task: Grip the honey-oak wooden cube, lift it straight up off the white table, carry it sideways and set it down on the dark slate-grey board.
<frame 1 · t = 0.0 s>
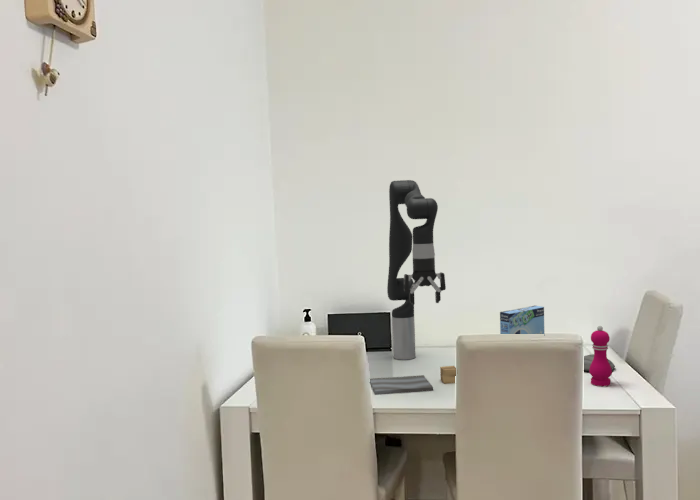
hand: (425, 303, 226), 29 cm above the table, fingers open, 8 cm apart
slate board: (400, 386, 230), on the table
gum box: (523, 369, 247), on the table
pepper mill: (600, 384, 224), on the table
oak cube: (449, 381, 234), on the table
grey round bowl: (593, 369, 244), on the table
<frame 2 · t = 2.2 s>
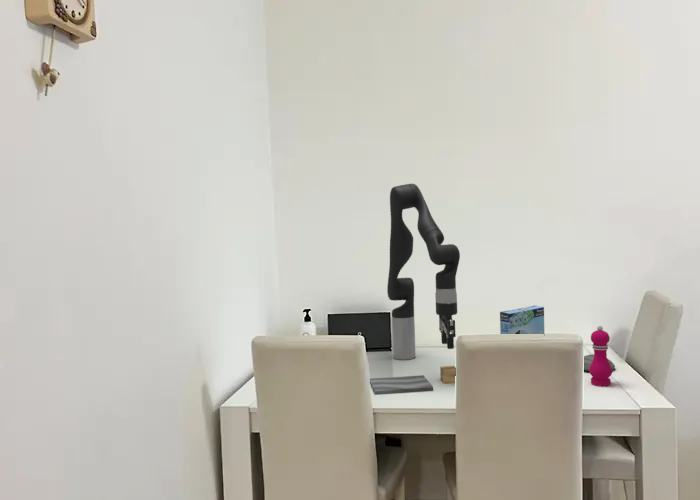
hand: (447, 346, 233), 13 cm above the table, fingers open, 8 cm apart
nothing on the table moved.
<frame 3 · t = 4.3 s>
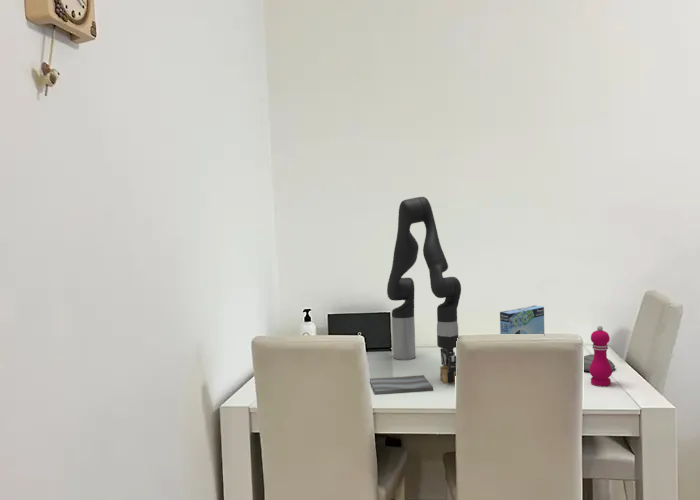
hand: (449, 380, 234), 0 cm above the table, fingers closed on oak cube, 5 cm apart
oak cube: (449, 381, 234), on the table, touching gripper
everything else where it was.
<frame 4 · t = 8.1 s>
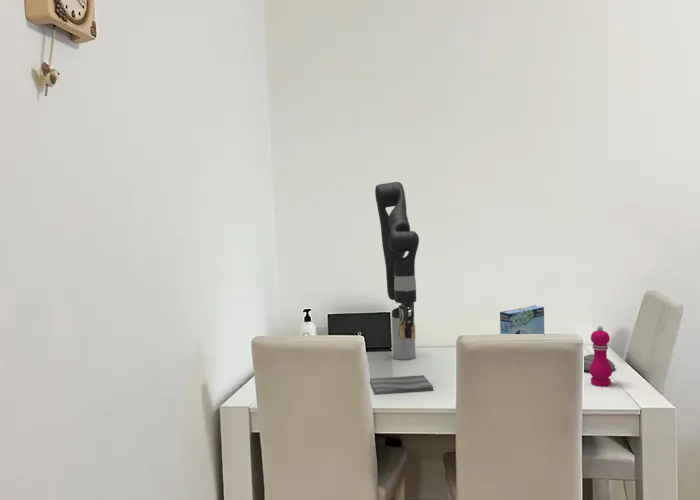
hand: (406, 336, 230), 17 cm above the table, fingers closed on oak cube, 5 cm apart
oak cube: (406, 337, 230), point 17 cm above the table, touching gripper
everything else where it was.
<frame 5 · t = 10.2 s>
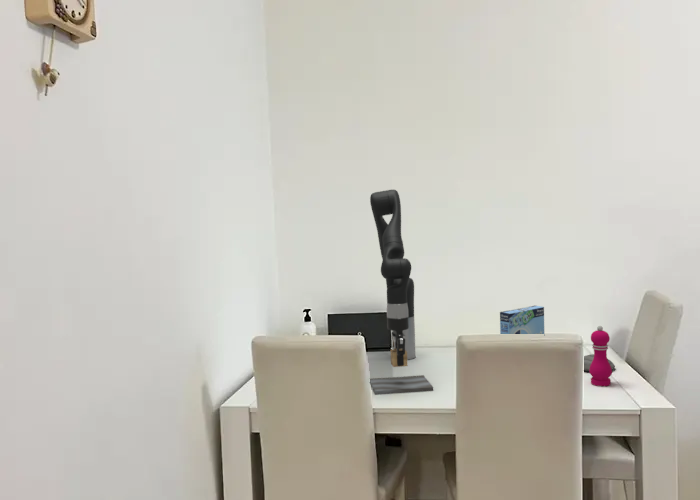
hand: (399, 363, 230), 8 cm above the table, fingers closed on oak cube, 5 cm apart
oak cube: (399, 364, 230), point 8 cm above the table, touching gripper
everything else where it was.
when the fingers open (3 cm above the table, at t = 12.1 s): oak cube stays where it is, resting on slate board.
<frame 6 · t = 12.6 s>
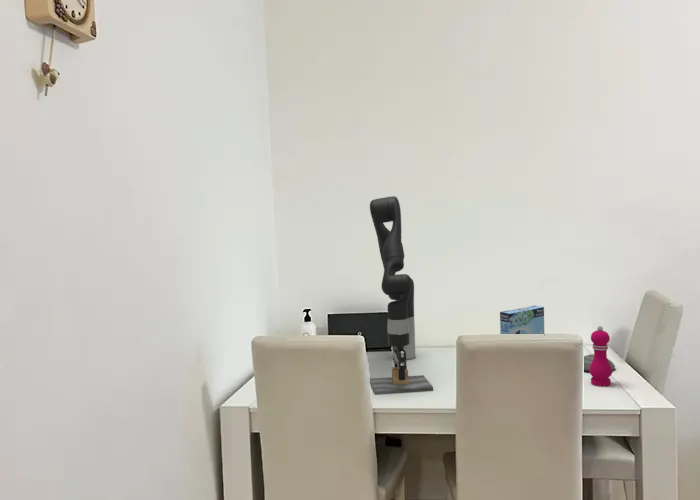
hand: (399, 376, 230), 3 cm above the table, fingers open, 8 cm apart
oak cube: (400, 382, 230), point 1 cm above the table, touching slate board
everything else where it was.
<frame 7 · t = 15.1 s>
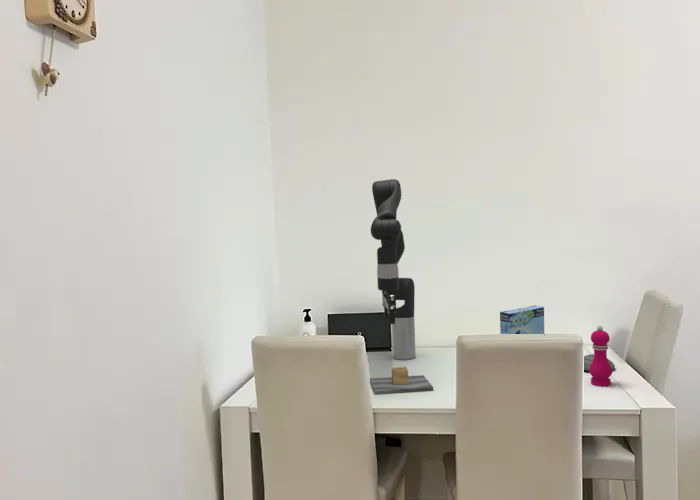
hand: (389, 321, 232), 22 cm above the table, fingers open, 8 cm apart
nothing on the table moved.
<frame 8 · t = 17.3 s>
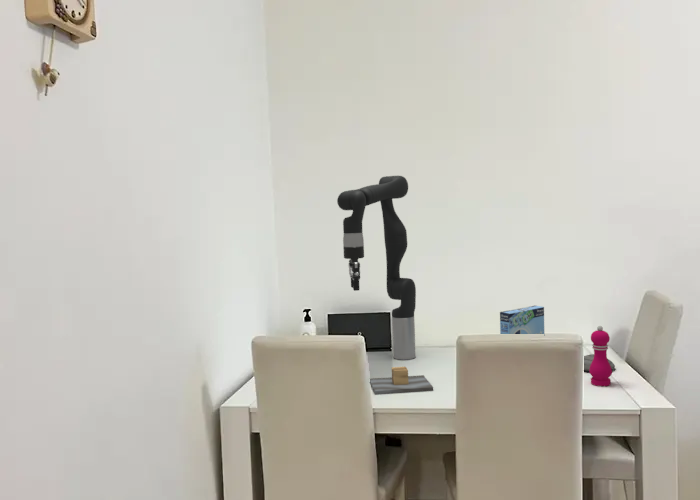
hand: (355, 288, 243), 33 cm above the table, fingers open, 8 cm apart
nothing on the table moved.
at the end: oak cube inside the target area on the slate board (0.1 cm from its centre), point 1.2 cm above the slate board's base; oak cube tilted 0°; the gripper is holding nothing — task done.
